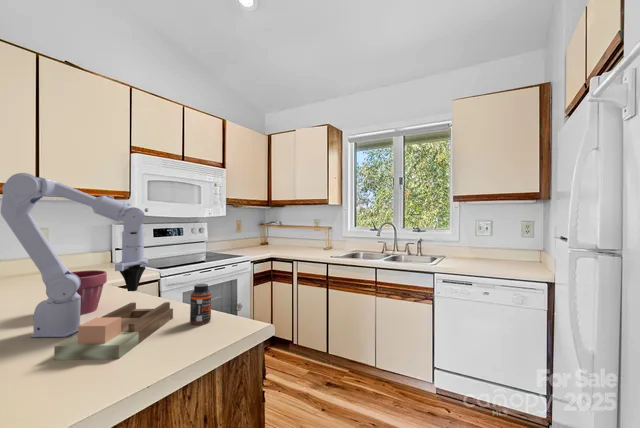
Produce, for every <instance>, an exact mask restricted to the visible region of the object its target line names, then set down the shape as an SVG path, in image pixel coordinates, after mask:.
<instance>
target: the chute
mask: <svg viewBox="0 0 640 428" xmlns="http://www.w3.org/2000/svg"><path fill="white" fill-rule="evenodd" d="M108 317H121V334H119V335H118V336H116V337H115V338H113V339H111V340H110V341H108V342H107V343H102V344H78V334H76V335H74V336H72V337H70V338H68V339H66V340H64V341H62V342H60V343H58V344H57V345H54V348H53V349H54V350H53V351H54V354H53V356H54V357H53V360H54V361H59V360H62V361H64V360H65V361H66V360H67V361H68V360H69V361H71V360H109V359H110V360H113V359H120V358H122V357H123V356H124V355H126V354H127V353H129V352H130V351H132V350H133V349H134V348H135V347H136V346H138V345H139V344H140V343H142V342H143V341H144V340H146V339H147V338H148V337H150V336H151V335H152V334H153V333H155V332H156V331H157V330H159V329H160V328H161V327H164V325H165V324H167V323H168V322H169V320H170V321H171V320H172V319H174V308H171V302H169V301H167V302H166V301H165V302H163V303H161V304H160V305H158V306H156V307H155V308H137V302H130V303H127V304H126V305H123V306H121V307H119V308H117V309H115V310H113V311H111V312H109V313H107V314H105V315H102V316H100V317H99V318H108Z"/></svg>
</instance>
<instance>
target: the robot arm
mask: <svg viewBox="0 0 640 428" xmlns="http://www.w3.org/2000/svg"><path fill="white" fill-rule="evenodd" d="M1 190H2V199H1V205H0V206H1V207H0V214H1V216H2V218H3V220H4V221H5V222H6V224H7V225H8V227H9V228H10V230H11V231H12V233H13V234H14V236H15V237H16V238H17V239H16V240H18V242H19V243H20V244H21V246H22V247H23V248H24V250H25V252H26V253H27V254H28V256H29V258H30V259H31V261H33V263H34V265H35V266H36V268H37V270H38V271H39V273H40V274H41V279H42V282H43V284H44V285H45V295H46V296H47V299H45V300H41V302H39V303H38V304H37V305H36V306H35V309H34V312H33V334H30V338H58V337H59V338H63V337H65V338H66V337H69V336H71V335H74V334H76V333H78V326H80V325H81V315H80V305H81V296H80V295H79V294H78V293H77V292H76V291H77V290H78V289H79V287H80V285H81V281H80V278H79V277H78V276H77V275H75V274H73V273H71V272H72V271H70V269H69V268H68V267H67V265H65V264H64V263H63V262H62V260H61V258H60V257H59V256H58V254H57V252H56V251H55V250H54V248H53V247H52V245H51V243H50V242H49V240H48V239H47V237H46V236H45V234H44V233H43V231H42V230H41V228H40V226H39V225H38V224H37V223H36V221H35V219H34V218H33V216H32V215H31V211H32V210H33V208H34V207H35V205H36V203H37V202H38V201H40V200H41V199H42V198H43V197H44V196H45V197H48V198H53V197H61V198H65V199H67V200H71V201H72V202H76V203H78V204H82V205H85V206H88V207H90V208H91V209H92V211H93V213H94V214H96V215H99V216H102V217H104V218H108V219H109V220H113V221H116V222H120V221H122V222H123V231H121V232H122V233H121V236H122V238H121V243H122V244H121V261H119V262H118V263H115V264H114V271H115V272H119V273H120V275H121V276H122V278H123V280H124V283H125V286H126V290H127V292H136V291H138V289H139V284H140V282H141V278H142V275H143V274H144V272H145V271H146V266H145V265H147V264H149V257H145V256H144V255H145V253H144V251H145V249H144V248H145V247H144V246H145V231H144V229H145V224H144V222H145V221H146V216H145V213H144V211H143V210H142V209H140V208H139V207H135V206H134V207H133V206H132V207H131V205H132V204H131V203H129V202H127V203H125V202H122V201H119V200H117V199H114V198H115V197H114V196H112V195H108V196H106V195H100V196H98V197H96V196H94V195H91V194H89V193H86V192H83V191H81V190H79V189H77V188H74V187H71V186H70V185H67V184H64V183H62V182H60V181H56V180H52V179H49V178H45V177H41V176H38V177H37V176H35V175H33V174H31V173H27V172H19V173H18V172H17V173H14V174H12V175H11V176H10V177H9V178H8V179H7V180H6V181H5V182H4V184H3V185H2V187H1Z"/></svg>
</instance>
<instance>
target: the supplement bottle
mask: <svg viewBox="0 0 640 428" xmlns="http://www.w3.org/2000/svg"><path fill="white" fill-rule="evenodd" d="M193 288H194V289H193V292H192V293H190V306H189V308H190V309H189V310H190V312H189V321H190V323H191V325H204V324H207V323H210V322H211V319H212V292H211V291H210V289H209V284H208V283H198V284H197V283H196V284H194V286H193Z"/></svg>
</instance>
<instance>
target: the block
mask: <svg viewBox="0 0 640 428" xmlns="http://www.w3.org/2000/svg"><path fill="white" fill-rule="evenodd" d="M119 334H121V317H108V318H100V317H95V318H92V319H90V320H88V321H86V322H84V323H82V324H80V326H78V332H77V335H78V344H102V343H107V342H108V341H110V340H111V339H113V338H115V337H116V336H118V335H119Z"/></svg>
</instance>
